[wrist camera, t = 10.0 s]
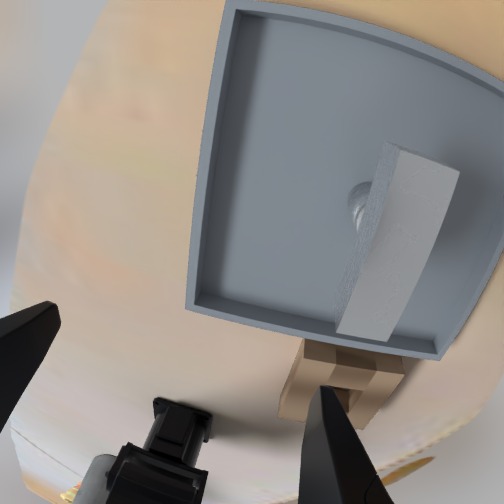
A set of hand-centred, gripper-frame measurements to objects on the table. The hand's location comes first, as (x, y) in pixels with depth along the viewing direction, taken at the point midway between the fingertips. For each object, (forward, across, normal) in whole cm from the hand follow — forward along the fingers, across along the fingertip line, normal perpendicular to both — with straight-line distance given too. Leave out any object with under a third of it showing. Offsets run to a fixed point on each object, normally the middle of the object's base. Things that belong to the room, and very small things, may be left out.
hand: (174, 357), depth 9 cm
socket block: (+12, -10, +12) cm, 20 cm away
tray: (+12, -7, -3) cm, 14 cm away
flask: (+13, +17, +55) cm, 59 cm away
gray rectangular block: (+11, -7, -3) cm, 14 cm away
